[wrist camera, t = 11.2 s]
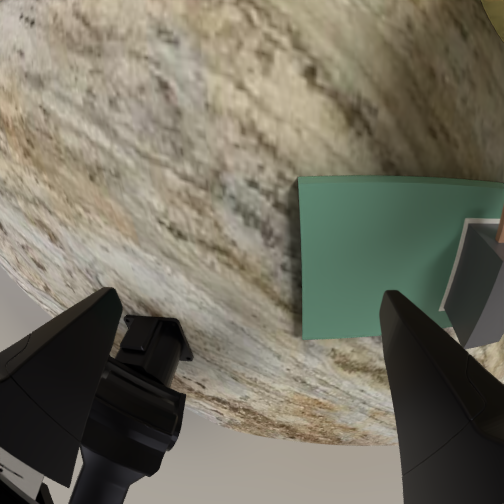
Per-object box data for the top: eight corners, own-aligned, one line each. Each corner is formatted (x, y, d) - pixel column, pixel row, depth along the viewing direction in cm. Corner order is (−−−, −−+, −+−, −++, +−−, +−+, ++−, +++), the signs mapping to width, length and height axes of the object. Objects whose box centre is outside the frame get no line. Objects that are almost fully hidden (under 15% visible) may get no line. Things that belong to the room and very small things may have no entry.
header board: (494, 308, 22) (510, 337, 18) (302, 327, 26) (302, 366, 22) (533, 187, 15) (563, 209, 11) (297, 176, 18) (299, 202, 15)
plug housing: (477, 302, 20) (498, 341, 16) (443, 307, 21) (462, 349, 16) (511, 188, 14) (550, 218, 10) (475, 185, 15) (515, 216, 11)
